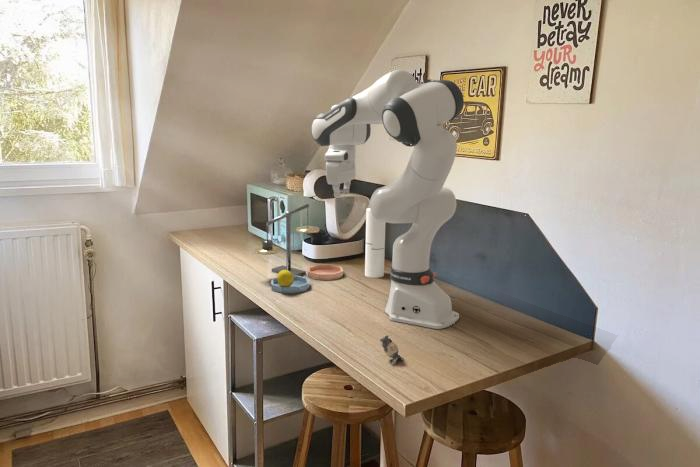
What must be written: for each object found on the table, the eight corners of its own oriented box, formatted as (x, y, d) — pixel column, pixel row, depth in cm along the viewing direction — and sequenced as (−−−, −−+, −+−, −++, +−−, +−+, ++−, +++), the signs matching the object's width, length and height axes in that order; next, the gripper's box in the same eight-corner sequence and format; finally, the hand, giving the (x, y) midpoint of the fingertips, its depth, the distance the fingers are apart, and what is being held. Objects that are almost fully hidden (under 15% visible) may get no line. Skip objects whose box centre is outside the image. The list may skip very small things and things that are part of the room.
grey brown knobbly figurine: (373, 359, 135) (375, 336, 134) (387, 354, 139) (388, 332, 138) (391, 366, 132) (392, 342, 131) (404, 360, 136) (405, 337, 135)
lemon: (280, 291, 186) (275, 283, 178) (278, 276, 188) (274, 267, 181) (296, 289, 186) (292, 280, 178) (294, 274, 188) (291, 265, 181)
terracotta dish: (349, 274, 205) (349, 268, 204) (327, 282, 194) (327, 276, 194) (322, 267, 212) (323, 262, 212) (300, 275, 202) (300, 269, 202)
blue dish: (316, 286, 190) (316, 280, 189) (291, 296, 180) (290, 289, 179) (289, 279, 197) (289, 273, 197) (263, 288, 187) (263, 281, 187)
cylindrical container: (371, 271, 209) (373, 206, 204) (387, 274, 205) (389, 209, 200) (361, 275, 204) (362, 209, 198) (377, 278, 200) (379, 211, 194)
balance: (303, 261, 220) (303, 200, 215) (326, 267, 213) (327, 204, 208) (247, 279, 196) (245, 211, 191) (270, 286, 189) (269, 215, 184)
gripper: (342, 152, 192) (342, 191, 194) (322, 155, 172) (322, 198, 175) (360, 152, 190) (359, 192, 193) (341, 156, 171) (341, 199, 173)
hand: (341, 195), depth 184 cm, fingers open, 8 cm apart
